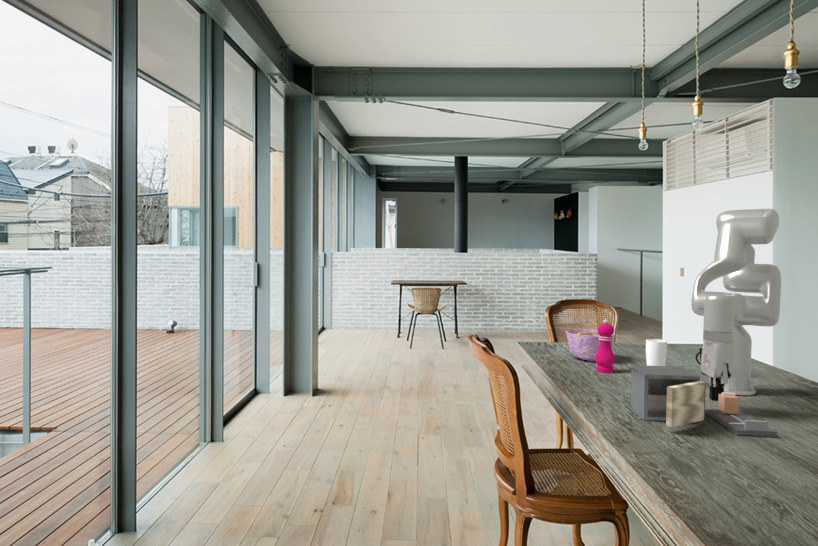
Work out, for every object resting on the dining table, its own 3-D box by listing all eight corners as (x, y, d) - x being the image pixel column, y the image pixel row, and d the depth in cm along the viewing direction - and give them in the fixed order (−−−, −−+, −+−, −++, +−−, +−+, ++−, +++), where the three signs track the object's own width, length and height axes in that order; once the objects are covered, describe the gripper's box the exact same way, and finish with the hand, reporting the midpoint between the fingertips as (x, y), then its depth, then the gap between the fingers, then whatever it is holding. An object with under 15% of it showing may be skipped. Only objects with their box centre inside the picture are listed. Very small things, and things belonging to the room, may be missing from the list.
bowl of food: (575, 353, 235) (576, 327, 235) (621, 358, 223) (621, 332, 222) (557, 360, 220) (558, 333, 220) (605, 366, 207) (606, 337, 207)
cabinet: (681, 409, 151) (682, 366, 150) (698, 422, 139) (699, 376, 138) (630, 407, 152) (631, 365, 152) (643, 420, 140) (644, 374, 140)
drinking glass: (644, 384, 179) (645, 341, 179) (645, 380, 185) (646, 338, 185) (666, 386, 176) (667, 342, 176) (666, 382, 182) (667, 339, 182)
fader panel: (740, 414, 146) (740, 401, 146) (776, 437, 128) (777, 422, 128) (705, 413, 147) (706, 400, 147) (737, 435, 129) (737, 421, 129)
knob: (731, 409, 145) (732, 391, 145) (738, 413, 141) (738, 394, 141) (718, 409, 145) (718, 390, 145) (724, 413, 142) (724, 394, 142)
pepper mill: (617, 373, 196) (618, 320, 195) (598, 373, 196) (599, 320, 195) (610, 369, 203) (611, 318, 202) (592, 368, 203) (593, 318, 202)
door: (700, 423, 138) (701, 380, 138) (706, 425, 137) (707, 381, 136) (666, 431, 131) (666, 386, 131) (671, 433, 130) (672, 388, 130)
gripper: (693, 333, 157) (692, 393, 158) (716, 340, 142) (714, 407, 143) (720, 333, 156) (718, 394, 157) (745, 341, 142) (743, 408, 142)
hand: (716, 400), depth 150 cm, fingers closed
